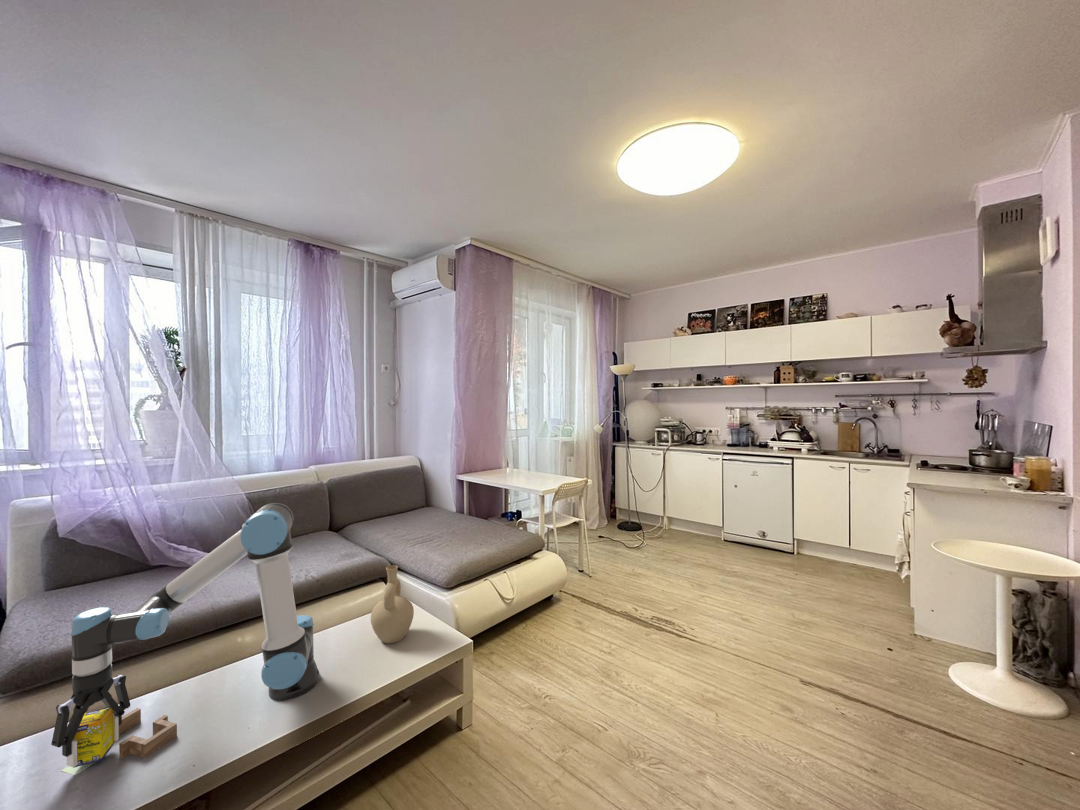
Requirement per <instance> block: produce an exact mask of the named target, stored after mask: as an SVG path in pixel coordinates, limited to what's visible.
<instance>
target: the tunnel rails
mask: <svg viewBox="0 0 1080 810" xmlns="http://www.w3.org/2000/svg"><path fill="white" fill-rule="evenodd" d="M141 716H142V711H141V708H140V707H139V708H138V707H137V708H134V709H133V710H131V711H129V712H128V713H127V714H125V715H124V714H123V715H122V724H121V725H120V726H119V736H121V735H122V734H123V733H125V732H127V731H128V730H131V729H132V728H133V727H135V726H137V725H138V724H140V723H142V717H141ZM168 717H169V716H168V715H165V714H164V715H162V716H161V717H159V718H157V719H156V720H154V721H153V722H152V736H150V737H149V738H144V737H140V736H137V735H133V734H131V735H130V736H129V737H127V738H126V739H124V740H123V741H121V742H119V745H118V746H119V748H118V749H119V750H118V753H119V754H118V756H119V758H122V759H124V758H126V757H127V756H128V755H132V756H136V757H141V758H144V759H145V758H147V757H148V756H151V754H154V752H156V751H157V750H159V749H161V748H162V747H164V746H165V745H167V743H169V742H170V741H172V740H173V739H175V738H176V737H178V723H176V722H173V721H169V718H168Z"/></svg>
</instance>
